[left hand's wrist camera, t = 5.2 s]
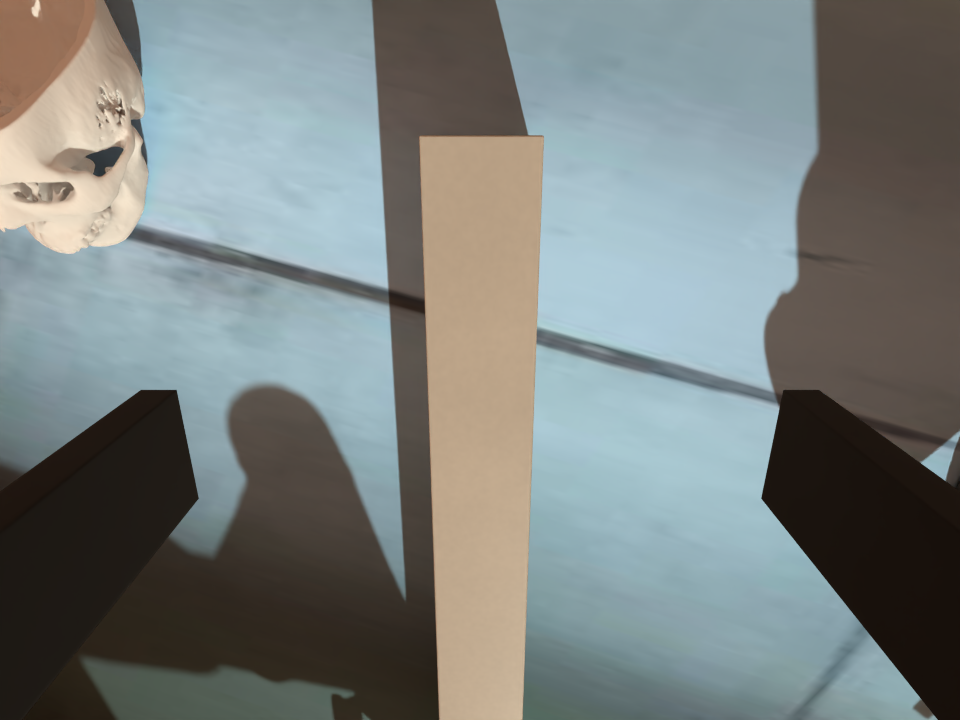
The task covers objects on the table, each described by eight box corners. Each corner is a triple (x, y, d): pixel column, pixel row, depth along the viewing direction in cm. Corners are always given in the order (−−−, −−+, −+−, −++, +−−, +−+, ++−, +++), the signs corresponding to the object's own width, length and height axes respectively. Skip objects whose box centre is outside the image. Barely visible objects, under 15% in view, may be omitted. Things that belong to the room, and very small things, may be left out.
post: (433, 138, 34) (418, 135, 26) (529, 138, 34) (544, 135, 26) (453, 905, 61) (449, 1017, 53) (507, 905, 61) (511, 1017, 53)
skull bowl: (5, 271, 35) (-228, 163, 23) (58, 74, 38) (-124, -111, 26) (176, 286, 36) (32, 187, 24) (216, 89, 38) (106, -88, 26)
